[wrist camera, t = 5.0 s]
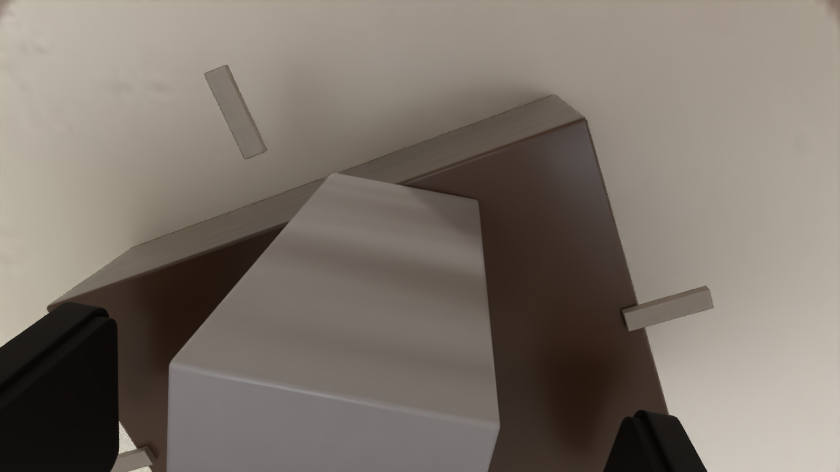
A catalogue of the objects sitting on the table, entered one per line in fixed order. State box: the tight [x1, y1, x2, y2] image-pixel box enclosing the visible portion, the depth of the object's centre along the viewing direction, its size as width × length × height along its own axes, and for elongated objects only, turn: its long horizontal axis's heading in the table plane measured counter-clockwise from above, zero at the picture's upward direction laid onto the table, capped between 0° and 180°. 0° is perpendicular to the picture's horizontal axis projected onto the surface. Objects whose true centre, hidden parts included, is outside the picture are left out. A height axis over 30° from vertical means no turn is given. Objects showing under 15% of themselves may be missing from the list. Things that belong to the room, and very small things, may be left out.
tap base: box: [47, 65, 714, 472], centre depth 12 cm, size 12×12×3 cm
